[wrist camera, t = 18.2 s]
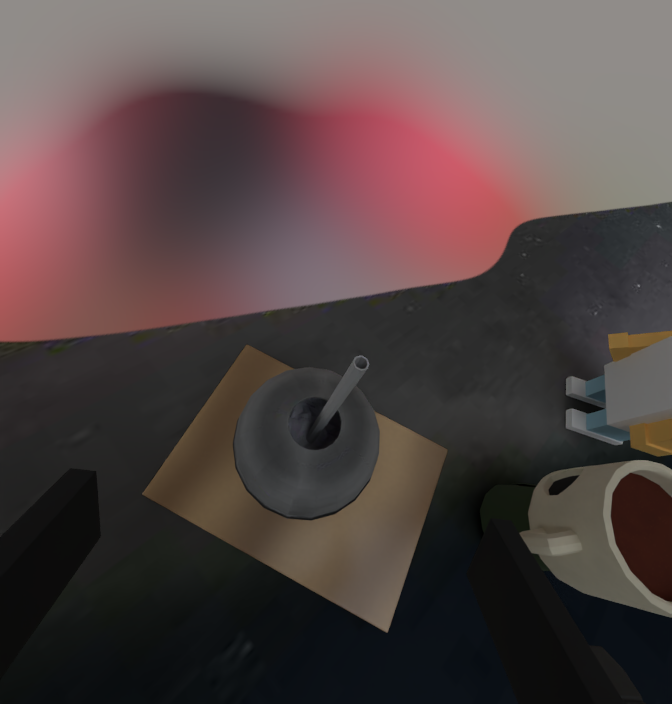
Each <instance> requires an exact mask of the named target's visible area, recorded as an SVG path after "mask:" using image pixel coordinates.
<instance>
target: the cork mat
mask: <svg viewBox="0 0 672 704" xmlns="http://www.w3.org/2000/svg"><path fill="white" fill-rule="evenodd" d="M287 370H293V368H291V367H289V366H287V365H285V364H284V363H282V362H280V361H278V360H276V359H274V358H272V357H270V356H268V355H266V354H264V353H263V352H261V351H259V350H257V349H255V348H253V347H251V346H249V345H246V346H245V347H244V349H243V350H242V352H241V353H240V355H239V356H238V358H237V359H236V360H235V362H234V363H233V365H232V366H231V368H230V369H229V370H228V372H227V373H226V375H225V376H224V378H223V379H222V380H221V382H220V383H219V385H218V386H217V388H216V389H215V390H214V392H213V393H212V395H211V396H210V398H209V399H208V401H207V402H206V403H205V405H204V406H203V408H202V409H201V411H200V412H199V413H198V415H197V416H196V418H195V419H194V421H193V422H192V423H191V425H190V426H189V428H188V429H187V431H186V432H185V434H184V435H183V436H182V438H181V439H180V441H179V442H178V444H177V445H176V446H175V448H174V449H173V451H172V452H171V454H170V455H169V456H168V458H167V459H166V461H165V462H164V464H163V465H162V466H161V468H160V469H159V471H158V472H157V474H156V475H155V477H154V478H153V479H152V481H151V482H150V484H149V485H148V487H147V488H146V489H145V491H144V492H143V494H142V495H144V496H145V497H147V498H149V499H151V500H153V501H154V502H156V503H158V504H160V505H161V506H163V507H165V508H167V509H169V510H170V511H172V512H174V513H176V514H177V515H179V516H181V517H183V518H184V519H186V520H188V521H190V522H192V523H193V524H195V525H197V526H199V527H200V528H202V529H204V530H206V531H207V532H209V533H211V534H213V535H215V536H216V537H218V538H220V539H222V540H223V541H225V542H227V543H229V544H230V545H232V546H234V547H236V548H238V549H239V550H241V551H243V552H245V553H246V554H248V555H250V556H252V557H254V558H255V559H257V560H259V561H261V562H262V563H264V564H266V565H268V566H269V567H271V568H273V569H275V570H277V571H278V572H280V573H282V574H284V575H285V576H287V577H289V578H291V579H292V580H294V581H296V582H298V583H300V584H301V585H303V586H305V587H307V588H308V589H310V590H312V591H314V592H315V593H317V594H319V595H321V596H323V597H324V598H326V599H328V600H330V601H331V602H333V603H335V604H337V605H338V606H340V607H342V608H344V609H346V610H347V611H349V612H351V613H353V614H354V615H356V616H358V617H360V618H362V619H363V620H365V621H367V622H369V623H370V624H372V625H374V626H376V627H377V628H379V629H381V630H383V631H385V632H386V633H388V630H389V627H390V624H391V621H392V618H393V615H394V612H395V609H396V606H397V603H398V600H399V597H400V594H401V591H402V588H403V585H404V582H405V579H406V576H407V573H408V569H409V566H410V563H411V560H412V557H413V554H414V551H415V548H416V545H417V542H418V539H419V536H420V533H421V530H422V527H423V524H424V521H425V518H426V515H427V512H428V509H429V506H430V503H431V500H432V497H433V494H434V491H435V488H436V485H437V482H438V479H439V476H440V473H441V470H442V467H443V464H444V461H445V458H446V455H447V452H448V449H446V448H444V447H442V446H440V445H438V444H436V443H434V442H432V441H430V440H429V439H427V438H425V437H423V436H421V435H419V434H417V433H415V432H413V431H411V430H409V429H408V428H406V427H404V426H402V425H400V424H398V423H396V422H394V421H392V420H390V419H388V418H387V417H385V416H383V415H381V414H379V413H377V412H375V411H374V412H375V415H376V419H377V423H378V426H379V430H380V441H379V456H378V459H377V462H376V465H375V468H374V471H373V474H372V476H371V479H370V482H369V483H368V484H367V486H366V487H365V488H364V490H363V491H362V492H361V494H360V495H359V496H358V498H357V499H356V500H355V501H354V502H352V503H351V504H349V505H348V506H346V507H345V508H344V509H342V510H341V511H339V512H338V513H336V514H334V515H330V516H327V517H323V518H319V519H315V520H312V521H310V520H299V519H287V518H284V517H282V516H280V515H278V514H276V513H274V512H272V511H269V510H267V509H265V508H263V507H262V506H261V505H260V504H259V503H258V502H257V501H256V500H255V499H254V498H253V497H252V496H251V495H250V494H249V493H248V492H247V491H246V489H245V487H244V485H243V483H242V481H241V479H240V476H239V474H238V472H237V470H236V468H235V460H234V452H233V439H234V434H235V429H236V424H237V420H238V418H239V417H240V415H241V413H242V411H243V409H244V407H245V406H246V404H247V402H248V400H249V398H250V397H251V395H252V394H253V393H254V392H255V391H256V390H257V389H259V388H260V387H261V386H262V385H263V384H264V383H265V382H266V381H267V380H269V379H271V378H273V377H275V376H277V375H279V374H281V373H283V372H285V371H287Z"/></svg>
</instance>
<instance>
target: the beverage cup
mask: <svg viewBox="0 0 672 704" xmlns="http://www.w3.org/2000/svg"><path fill="white" fill-rule="evenodd" d="M368 366H369V362H368V360H367V358H365V357H363V356H357V357H355V358H354V360H353V362H352V363H351V365H350V366H349V368H348V370H347V371H346V373H345V374H344V376H341V375H339V374H337V373H335V372H332V371H330V370H328V369H320V368H312V367H305V368H299V369H293V370H287V371H285V372H283V373H281V374H279V375H277V376H275V377H273V378H271V379H269V380H267V381H266V382H265V383H264V384H263V385H262V386H261V387H260V388H259V389H257V390H256V391H255V392H254V393H253V394H252V395H251V397H250V398H249V400H248V402H247V404H246V406H245V407H244V409H243V411H242V413H241V415H240V417H239V418H238V420H237V424H236V429H235V434H234V439H233V452H234V460H235V468H236V470H237V472H238V474H239V476H240V479H241V481H242V483H243V485H244V487H245V489H246V491H247V492H248V493H249V494H250V495H251V496H252V497H253V498H254V499H255V500H256V501H257V502H258V503H259V504H260V505H261V506H262V507H263V508H265V509H267V510H269V511H272V512H274V513H276V514H278V515H280V516H282V517H284V518H287V519H299V520H310V521H312V520H315V519H319V518H323V517H327V516H330V515H334V514H336V513H338V512H339V511H341V510H342V509H344V508H345V507H346V506H348V505H349V504H351V503H352V502H354V501H355V500H356V499H357V498H358V496H359V495H360V494H361V492H362V491H363V490H364V488H365V487H366V486H367V484H368V483H369V482H370V479H371V476H372V474H373V471H374V468H375V465H376V462H377V459H378V456H379V441H380V430H379V426H378V423H377V419H376V415H375V412H374V409H373V408H372V406H371V404H370V403H369V401H368V400H367V398H366V397H365V395H364V393H363V392H362V391H361V390H360V389H359V388H358V387H357V386H355V385H356V384H357V382H358V381H359V380H360V378H361V377H362V376H363V374H364V373H365V371H366V370H367V368H368Z"/></svg>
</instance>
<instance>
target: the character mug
mask: <svg viewBox="0 0 672 704" xmlns="http://www.w3.org/2000/svg"><path fill="white" fill-rule="evenodd" d="M513 484H517V485H495V486H494V487H493V488H492V489H491V490H490V491H489V492H488V493H487V494H485V497H484V500H483V502H482V505H481V508H480V516H481V523H482V529H483V532H485V530H486V528H487V525H488V523H489V521H490V519H491V518H494V519H502V520H511V521H512V523H513V524H514V526H515V527H516V529H517V531H518V532H519V534H520V535H521V537H522V539H523V540H524V542H525V543H526V545H527V547H528V548H529V550H530V551H531V553H532V555H533V556H534V558H535V560H536V561H537V563H538V564H539V566H540V568H541V569H542V571H551V572H552V573H553V574H554V575H555V576H556V578H558V579H560V580H561V581H563V582H565V583H567V584H568V585H570V586H572V587H573V588H575V589H577V590H579V591H581V592H583V593H585V594H588V595H592V596H596V597H599V598H603V599H606V600H610V601H614V602H617V603H621V604H624V605H628V606H631V607H635V608H639V609H642V610H646V611H649V612H653V613H656V614H660V615H664V616H667V617H672V470H671V469H670V468H668V467H666V466H664V465H663V464H659V463H655V462H651V461H647V460H634V461H626V462H618V463H611V464H603V465H596V466H586V467H578V468H571V469H565V470H560V471H556V472H552V473H550V474H548V475H547V476H545V477H544V478H542V479H541V481H540V482H539V484H538V485H534V484H527V483H513ZM518 485H519V486H518Z"/></svg>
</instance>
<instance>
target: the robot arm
mask: <svg viewBox="0 0 672 704" xmlns="http://www.w3.org/2000/svg"><path fill="white" fill-rule="evenodd" d="M100 537H101V532H100V518H99V504H98V490H97V476H96V471H89V470H80V469H72V468H70V469H69V470H68V471H67V472H66V473H65V474H64V475H63V476H62V477H61V478H60V479H59V480H58V481H57V482H56V483H55V484H54V485H53V486H52V487H51V488H50V489H49V490H48V491H47V492H46V493H45V494H44V495H43V496H42V497H41V498H40V499H39V500H38V501H37V502H36V503H35V504H34V505H33V506H31V507H30V508H29V509H28V510H27V511H26V512H25V513H24V514H23V515H22V516H21V517H20V518H19V519H18V520H17V521H16V522H15V523H14V524H13V525H12V526H11V527H10V528H9V529H8V530H7V531H6V532H5V533H4V534H3V535H2V536H1V537H0V679H1V678H2V676H3V675H4V673H5V672H6V671H7V669H8V668H9V666H10V665H11V663H12V662H13V661H14V659H15V658H16V656H17V655H18V653H19V652H20V651H21V649H22V648H23V646H24V645H25V643H26V642H27V641H28V639H29V638H30V636H31V635H32V634H33V632H34V631H35V629H36V628H37V626H38V625H39V624H40V622H41V621H42V619H43V618H44V616H45V615H46V614H47V612H48V611H49V609H50V608H51V607H52V605H53V604H54V602H55V601H56V599H57V598H58V597H59V595H60V594H61V592H62V591H63V589H64V588H65V587H66V585H67V584H68V582H69V581H70V580H71V578H72V577H73V575H74V574H75V572H76V571H77V570H78V568H79V567H80V565H81V564H82V562H83V561H84V560H85V558H86V557H87V555H88V554H89V553H90V551H91V550H92V548H93V547H94V545H95V544H96V543H97V541H98V540H99V538H100ZM466 574H467V577H468V579H469V582H470V584H471V587H472V589H473V591H474V594H475V596H476V599H477V601H478V604H479V606H480V609H481V611H482V614H483V616H484V619H485V621H486V624H487V626H488V629H489V631H490V634H491V636H492V639H493V641H494V644H495V646H496V649H497V651H498V654H499V656H500V659H501V661H502V664H503V666H504V669H505V671H506V674H507V676H508V679H509V681H510V684H511V686H512V689H513V691H514V693H515V696H516V698H517V701H518V703H519V704H646V703H644V702H643V701H642V697H641V695H640V694H639V692H638V691H637V689H636V688H635V686H634V685H633V683H632V682H631V680H630V679H629V677H628V676H627V674H626V673H625V671H624V670H623V669H622V668H621V667H620V666H619V664H618V663H617V662H616V661H615V660H614V659H613V658H612V657H611V656H610V655H609V654H608V653H607V652H606V651H605V650H604V649H603V648H602V647H600V646H589V645H588V643H587V641H586V640H585V638H584V637H583V635H582V633H581V632H580V630H579V629H578V627H577V625H576V624H575V622H574V621H573V619H572V617H571V616H570V614H569V613H568V611H567V609H566V608H565V606H564V605H563V603H562V601H561V600H560V598H559V596H558V595H557V593H556V592H555V590H554V588H553V587H552V585H551V584H550V582H549V580H548V579H547V577H546V576H545V574H544V572H543V571H542V569H541V568H540V566H539V564H538V563H537V561H536V560H535V558H534V556H533V555H532V553H531V551H530V550H529V548H528V547H527V545H526V543H525V542H524V540H523V539H522V537H521V535H520V534H519V532H518V531H517V529H516V527H515V526H514V524H513V523H512V521H511V520H502V519H494V518H491V519H490V521H489V523H488V525H487V528H486V530H485V532H484V535H483V537H482V539H481V541H480V544H479V546H478V548H477V551H476V553H475V555H474V557H473V560H472V562H471V564H470V567H469V569H468V571H467V573H466Z"/></svg>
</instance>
